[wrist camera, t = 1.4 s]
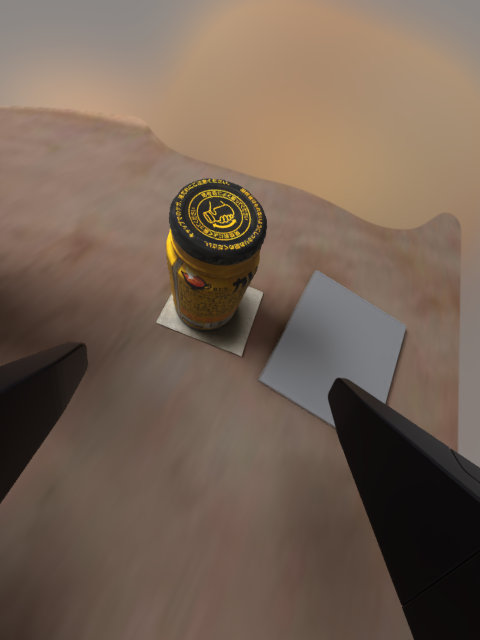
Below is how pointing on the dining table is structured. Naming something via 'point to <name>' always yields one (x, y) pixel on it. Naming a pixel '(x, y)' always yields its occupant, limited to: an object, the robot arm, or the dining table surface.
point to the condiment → (214, 263)
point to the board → (332, 347)
